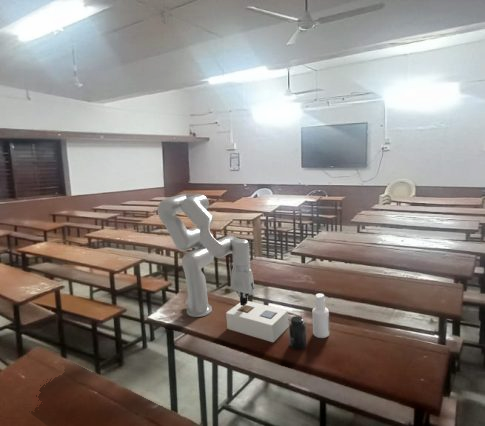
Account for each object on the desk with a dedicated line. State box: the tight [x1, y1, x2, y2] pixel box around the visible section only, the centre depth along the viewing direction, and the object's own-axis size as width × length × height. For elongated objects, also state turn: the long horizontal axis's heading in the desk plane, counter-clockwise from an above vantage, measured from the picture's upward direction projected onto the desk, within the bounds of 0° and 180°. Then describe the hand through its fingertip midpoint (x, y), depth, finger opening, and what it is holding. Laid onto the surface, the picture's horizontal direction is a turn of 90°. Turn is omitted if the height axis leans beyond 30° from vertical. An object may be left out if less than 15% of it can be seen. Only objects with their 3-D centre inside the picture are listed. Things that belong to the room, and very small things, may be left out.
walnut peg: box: [238, 305, 253, 313], centre depth 169 cm, size 5×5×6 cm
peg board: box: [225, 300, 290, 343], centre depth 166 cm, size 24×14×8 cm, turn 55°
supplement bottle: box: [288, 315, 307, 351], centre depth 150 cm, size 7×7×12 cm
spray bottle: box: [311, 293, 330, 339], centre depth 156 cm, size 7×7×18 cm
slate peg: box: [260, 310, 276, 319], centre depth 163 cm, size 5×5×6 cm
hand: (243, 304), depth 169 cm, fingers closed
